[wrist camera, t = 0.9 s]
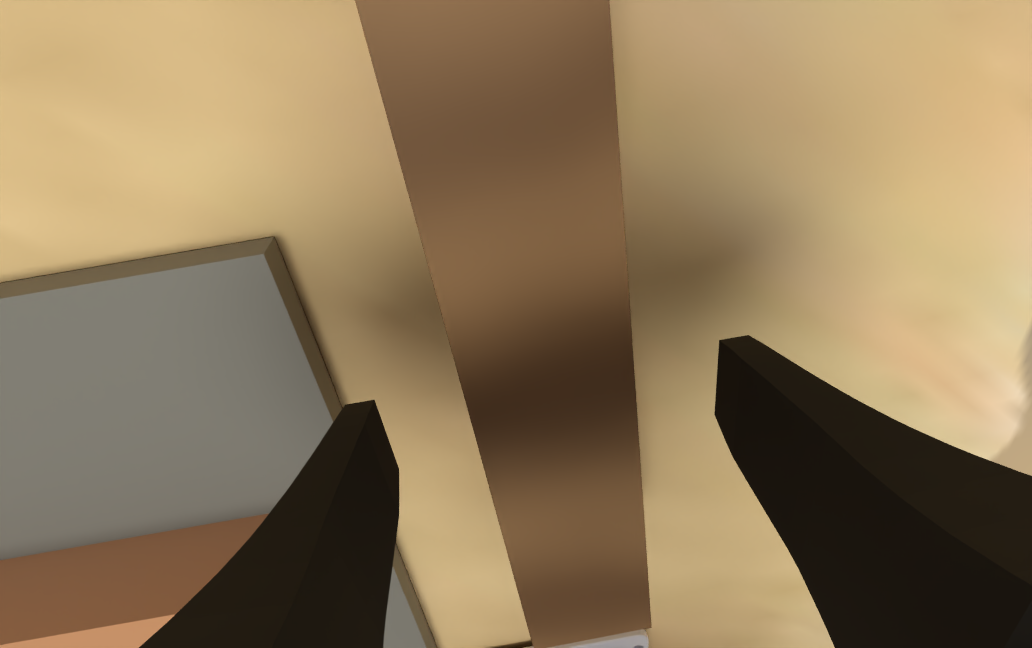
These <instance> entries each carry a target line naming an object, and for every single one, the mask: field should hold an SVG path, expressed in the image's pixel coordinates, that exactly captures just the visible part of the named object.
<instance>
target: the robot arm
mask: <svg viewBox="0 0 1032 648" xmlns="http://www.w3.org/2000/svg"><path fill="white" fill-rule="evenodd" d="M715 417H716V419H717V421H718V424H719V426H720V429H721V431H722V433H723V436H724V438H725V440H726V443H727V445H728V447H729V449H730V452H731V454H732V456H733V458H734V460H735V461H736V463H737V465H738V467H739V468H740V470H741V472H742V473H743V475H744V477H745V478H746V480H747V482H748V484H749V485H750V487H751V489H752V490H753V492H754V494H755V495H756V497H757V499H758V500H759V502H760V504H761V505H762V507H763V509H764V510H765V512H766V514H767V515H768V517H769V518H770V520H771V522H772V523H773V525H774V527H775V528H776V530H777V532H778V533H779V535H780V537H781V538H782V540H783V542H784V543H785V545H786V547H787V548H788V550H789V552H790V554H791V556H792V558H793V559H794V561H795V563H796V565H797V567H798V569H799V571H800V573H801V575H802V577H803V579H804V581H805V583H806V585H807V587H808V590H809V592H810V594H811V596H812V598H813V600H814V602H815V604H816V607H817V609H818V611H819V613H820V615H821V617H822V619H823V622H824V624H825V626H826V628H827V631H828V633H829V635H830V637H831V640H832V642H833V644H834V646H835V648H1032V476H1030V475H1027V474H1024V473H1021V472H1018V471H1016V470H1013V469H1010V468H1008V467H1005V466H1002V465H1000V464H997V463H994V462H992V461H989V460H986V459H984V458H981V457H978V456H976V455H973V454H971V453H968V452H966V451H963V450H961V449H958V448H956V447H953V446H951V445H949V444H947V443H944V442H942V441H940V440H938V439H935V438H933V437H931V436H929V435H926V434H924V433H922V432H920V431H917V430H915V429H913V428H911V427H909V426H907V425H904V424H902V423H900V422H898V421H896V420H894V419H892V418H890V417H888V416H886V415H884V414H883V413H881V412H879V411H877V410H875V409H873V408H871V407H869V406H867V405H865V404H863V403H862V402H860V401H858V400H856V399H854V398H852V397H851V396H849V395H847V394H845V393H844V392H842V391H840V390H838V389H837V388H835V387H833V386H831V385H830V384H828V383H826V382H825V381H823V380H821V379H820V378H818V377H816V376H815V375H813V374H811V373H810V372H808V371H806V370H805V369H803V368H801V367H800V366H798V365H797V364H795V363H793V362H792V361H790V360H788V359H787V358H785V357H784V356H782V355H780V354H779V353H777V352H776V351H774V350H772V349H771V348H769V347H768V346H766V345H764V344H763V343H761V342H759V341H758V340H756V339H754V338H752V337H751V336H749V335H747V336H741V337H735V338H730V339H724V340H719V354H718V370H717V385H716V401H715ZM398 519H399V468H398V465H397V462H396V459H395V457H394V454H393V451H392V448H391V445H390V443H389V440H388V437H387V434H386V431H385V428H384V426H383V423H382V420H381V417H380V414H379V412H378V409H377V406H376V403H375V400H371V401H365V402H359V403H353V404H347V405H345V406H344V407H343V409H342V410H341V411H340V413H339V414H338V416H337V417H336V419H335V420H334V422H333V423H332V425H331V426H330V428H329V429H328V431H327V432H326V434H325V436H324V437H323V439H322V440H321V442H320V443H319V445H318V446H317V448H316V449H315V451H314V452H313V454H312V455H311V457H310V458H309V459H308V461H307V462H306V464H305V465H304V467H303V468H302V470H301V471H300V472H299V474H298V475H297V477H296V478H295V480H294V481H293V482H292V484H291V485H290V487H289V488H288V489H287V491H286V492H285V493H284V495H283V496H282V497H281V499H280V500H279V501H278V503H277V504H276V505H275V506H274V508H273V509H272V510H271V512H270V513H269V514H268V516H267V517H266V518H265V519H264V521H263V522H262V523H261V525H260V526H259V527H258V528H257V529H256V531H255V532H254V533H253V534H252V535H251V537H250V538H249V539H248V540H247V541H246V542H245V544H244V545H243V546H242V547H241V548H240V549H239V550H238V551H237V552H236V554H235V555H234V556H233V557H232V558H231V559H230V560H229V561H228V562H227V563H226V565H225V566H224V567H223V568H222V569H221V570H220V571H219V572H218V573H217V574H216V575H215V576H214V577H213V578H212V579H211V580H210V581H209V582H208V583H207V584H206V585H205V586H204V587H203V588H202V589H201V590H200V591H199V592H198V593H197V594H196V595H195V596H194V597H193V598H192V599H191V600H190V601H189V602H188V603H187V604H186V605H185V606H184V607H183V608H182V609H181V610H180V611H178V612H177V613H176V614H175V615H174V616H173V617H172V618H171V619H170V620H169V621H168V622H167V623H166V624H165V625H164V626H162V627H161V628H160V629H159V630H158V631H157V632H156V633H155V634H154V635H152V636H151V637H150V638H149V639H148V640H147V641H146V642H145V643H143V644H142V645H141V646H140V647H139V648H383V645H384V632H385V621H386V613H387V605H388V597H389V590H390V582H391V574H392V567H393V559H394V551H395V543H396V535H397V527H398ZM524 648H533V646H529V647H524ZM549 648H649V639H648V636H647V633H646V630H644V629H641V630H636V631H631V632H626V633H621V634H616V635H611V636H605V637H600V638H595V639H590V640H585V641H580V642H575V643H569V644H564V645H559V646H554V647H549Z"/></svg>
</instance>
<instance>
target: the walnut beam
mask: <svg viewBox="0 0 1032 648" xmlns="http://www.w3.org/2000/svg"><path fill="white" fill-rule="evenodd" d="M355 2H356V6H357V9H358V13H359V16H360V20H361V24H362V27H363V31H364V35H365V38H366V42H367V45H368V49H369V53H370V56H371V60H372V64H373V67H374V71H375V74H376V78H377V82H378V85H379V89H380V93H381V96H382V100H383V104H384V107H385V111H386V114H387V118H388V122H389V125H390V129H391V133H392V136H393V140H394V143H395V147H396V151H397V154H398V158H399V162H400V165H401V169H402V172H403V176H404V180H405V183H406V187H407V191H408V194H409V198H410V201H411V205H412V209H413V212H414V216H415V220H416V223H417V227H418V230H419V234H420V238H421V241H422V245H423V249H424V252H425V256H426V259H427V263H428V267H429V270H430V274H431V278H432V281H433V285H434V289H435V292H436V296H437V299H438V303H439V307H440V310H441V314H442V318H443V321H444V325H445V328H446V332H447V336H448V339H449V343H450V347H451V350H452V354H453V357H454V361H455V365H456V368H457V372H458V376H459V379H460V383H461V386H462V390H463V394H464V397H465V401H466V405H467V408H468V412H469V415H470V419H471V423H472V426H473V430H474V434H475V437H476V441H477V444H478V448H479V452H480V455H481V459H482V463H483V466H484V470H485V474H486V477H487V481H488V484H489V488H490V492H491V495H492V499H493V503H494V506H495V510H496V513H497V517H498V521H499V524H500V528H501V532H502V535H503V539H504V542H505V546H506V550H507V553H508V557H509V561H510V564H511V568H512V571H513V575H514V579H515V582H516V586H517V590H518V593H519V597H520V600H521V604H522V608H523V611H524V615H525V619H526V622H527V626H528V629H529V633H530V637H531V640H532V644H533V648H549V647H554V646H559V645H564V644H569V643H575V642H580V641H585V640H590V639H595V638H600V637H605V636H611V635H616V634H621V633H626V632H631V631H636V630H641V629H647V628H652V627H651V613H650V598H649V583H648V568H647V553H646V538H645V524H644V509H643V494H642V479H641V464H640V449H639V435H638V420H637V405H636V390H635V375H634V361H633V346H632V331H631V316H630V301H629V286H628V272H627V257H626V242H625V227H624V212H623V197H622V183H621V168H620V153H619V138H618V123H617V108H616V94H615V79H614V64H613V49H612V34H611V20H610V5H609V0H355Z"/></svg>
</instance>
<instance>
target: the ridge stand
mask: <svg viewBox="0 0 1032 648" xmlns="http://www.w3.org/2000/svg"><path fill="white" fill-rule="evenodd" d="M341 410H342V407H341V404H340V402H339V399H338V397H337V394H336V392H335V389H334V387H333V384H332V382H331V379H330V377H329V374H328V371H327V369H326V366H325V364H324V361H323V359H322V356H321V354H320V351H319V349H318V346H317V344H316V341H315V339H314V336H313V334H312V331H311V329H310V326H309V323H308V321H307V318H306V316H305V313H304V311H303V308H302V306H301V303H300V301H299V298H298V296H297V293H296V291H295V288H294V286H293V283H292V281H291V278H290V275H289V273H288V270H287V268H286V265H285V263H284V260H283V258H282V255H281V253H280V250H279V248H278V245H277V243H276V240H275V238H274V237H269V238H263V239H257V240H252V241H246V242H240V243H234V244H228V245H222V246H216V247H210V248H204V249H199V250H193V251H187V252H181V253H175V254H169V255H163V256H157V257H151V258H146V259H140V260H134V261H128V262H122V263H116V264H110V265H104V266H99V267H93V268H87V269H81V270H75V271H69V272H63V273H57V274H51V275H46V276H40V277H34V278H28V279H22V280H16V281H10V282H4V283H0V648H139V647H140V646H141V645H142V644H143V643H145V642H146V641H147V640H148V639H149V638H150V637H151V636H152V635H154V634H155V633H156V632H157V631H158V630H159V629H160V628H161V627H162V626H164V625H165V624H166V623H167V622H168V621H169V620H170V619H171V618H172V617H173V616H174V615H175V614H176V613H177V612H178V611H180V610H181V609H182V608H183V607H184V606H185V605H186V604H187V603H188V602H189V601H190V600H191V599H192V598H193V597H194V596H195V595H196V594H197V593H198V592H199V591H200V590H201V589H202V588H203V587H204V586H205V585H206V584H207V583H208V582H209V581H210V580H211V579H212V578H213V577H214V576H215V575H216V574H217V573H218V572H219V571H220V570H221V569H222V568H223V567H224V566H225V565H226V563H227V562H228V561H229V560H230V559H231V558H232V557H233V556H234V555H235V554H236V552H237V551H238V550H239V549H240V548H241V547H242V546H243V545H244V544H245V542H246V541H247V540H248V539H249V538H250V537H251V535H252V534H253V533H254V532H255V531H256V529H257V528H258V527H259V526H260V525H261V523H262V522H263V521H264V519H265V518H266V517H267V516H268V514H269V513H270V512H271V510H272V509H273V508H274V506H275V505H276V504H277V503H278V501H279V500H280V499H281V497H282V496H283V495H284V493H285V492H286V491H287V489H288V488H289V487H290V485H291V484H292V482H293V481H294V480H295V478H296V477H297V475H298V474H299V472H300V471H301V470H302V468H303V467H304V465H305V464H306V462H307V461H308V459H309V458H310V457H311V455H312V454H313V452H314V451H315V449H316V448H317V446H318V445H319V443H320V442H321V440H322V439H323V437H324V436H325V434H326V432H327V431H328V429H329V428H330V426H331V425H332V423H333V422H334V420H335V419H336V417H337V416H338V414H339V413H340V411H341ZM383 648H437V647H436V644H435V642H434V639H433V637H432V634H431V632H430V629H429V627H428V624H427V622H426V619H425V617H424V614H423V611H422V609H421V606H420V604H419V601H418V599H417V596H416V594H415V591H414V589H413V586H412V584H411V581H410V579H409V576H408V574H407V571H406V569H405V566H404V563H403V561H402V558H401V556H400V553H399V551H398V548H397V546H396V543H395V551H394V559H393V567H392V574H391V582H390V590H389V597H388V605H387V613H386V621H385V632H384V645H383Z"/></svg>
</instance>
